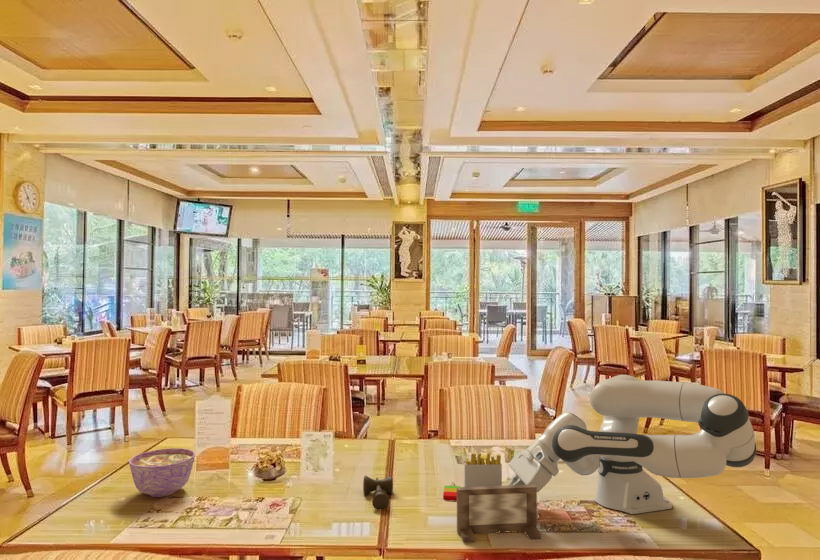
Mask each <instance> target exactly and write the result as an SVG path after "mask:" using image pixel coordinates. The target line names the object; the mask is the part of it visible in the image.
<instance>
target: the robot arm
mask: <svg viewBox="0 0 820 560" xmlns="http://www.w3.org/2000/svg"><path fill="white" fill-rule="evenodd" d="M589 401H590V405H591V407H592V409H593V410H594V411H595V412H596V413H597V414H599V415H602V416H603V417H602V422H601V424H600V427H599V429H598V430H599V431H594V430H589V429H587V425H586V423H585V421H584V420H583V419H581V418H580V417H578V416H577V415H575V414H574V413H572V412H566V411H565V412H562V413H561V414H560V415H558V416H556V418H555V419H554V420H552V421H551V423H550V424H549V425H547V427H546V428H545V430H544V432H543V433H542V434H541V435H539V436H538V437H537V438H536V439H535V440H534V441H533V442H532V443H531V444H530V445H529V446H528V447H527V448H526V449H522V450H521V451H519V452H518V453H516V454H515V456H514V457H513V458H512V459H511V460H510V461H509V463H508V466H509V468H510V469H511V470H512V471H513V472H514V475H513V476H512V477H511V480H510V482H509V483H508V484H507V486H508V485H535V486H536V487H537V493H539V492H540V491H541V490H542V489H543V488H544V487H546V486H547V485H548V483H549V482H550V481H551V479H552V477H556V476H557V475H558V474H559V472H560V471H559V465H558V462H559V461H560V460H561V461H563V462H564V463H565V464H566V465H567V467H568V468H570V470H572V471H573V472H574V473H575V474H578V475H580V476H589V475H592V474H594V473H595V472H596V471H598V477H597V478H598V480H597V487H596V490H595V493H594V497H593V499H594V501H595V503H597V504H599V505H600V506H602V507H605V508H608V509H612V510H614V511H615V510H616V511H621V512H623V513H627V514H631V515H636V514H637V515H638V514H644V513H651V512H657V511H658V512H659V511H665V510H671V509H672V508H673V505H672V502H671V501H670V499H669V498H668V497H666V496H664V491H663V487H662V485H661V484H660V482H659V481H658V480H657V479H655V477H653V476H652V475H650V474H649V473H648V472H650V473H651V474H653V475H655V476H659V477H664V478H669V479H671V478H672V479H699V478H700V479H701V478H709V477H713V476H718V475H721V474H722V473H723V472H724V471H725V470H726V467H727V466H728V467H731V468H744V467H746V466H749V465H750V463H752V462H753V461H754V459H755V457H756V454H757V453H756V452H757V444H756V437H755V431H754V427H753V425H752V423H751V419H750V415H749V411H748V409H747V407H746V405H745V404H744V402H743V401H742V400H741V398H739V397H737V396H735V395H733V394H729V393H725V392H723V391H722V390H721V389H719V388H716V387H712V386H707V385H702V384H697V383H691V382H690V383H689V382H682V381H668V380H660V379H659V380H656V379H655V380H640V379H638V378H637V377H635V376H633V375H630V374H618V375H614V376H612V377H609V378H607V379H603V380H600V382H598V383H597V384H595V386H594V387H593V388H592V390H591V391H590V395H589ZM640 418H653V419H654V418H655V419H656V418H657V419H662V420H663V419H664V420H670V421H671V420H673V421H680V422H687V423H688V422H689V423H696V424H697V425H698V426H699V428H700V430H699V431H698V432H696V433H693V434H641V433H640V434H639V433H638V430H639V429H638V428H639V423H640ZM644 469H645V470H647V471H648V472H646V471H645V470H644Z"/></svg>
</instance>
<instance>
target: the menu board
mask: <svg viewBox="0 0 820 560" xmlns="http://www.w3.org/2000/svg"><path fill="white" fill-rule="evenodd" d="M537 494H538V492H537V487H536V486H535V485H508V484H507V485H502V486H482V487H464V486H463V487H462V486H460V487H457V501H456V533H457V535H460V537H461V540H462V542H463V543H462V544H469V543H470V544H471V543H472V544H473V543H476V537H475V534H479V535H480V534H490V533H489V532H499V531H500V532H501V533H505V532H504V531H522V532H524V531H525V532H526V533H525V532H524V533H525V534H526V536H527V535H528V536H527V537H528V538H529V540H531V541H532V540H533V541H535V540H542V533H541V532H540V530H539V528H538V521H537V520H538V514H537V513H538V512H537V510H538V508H537V506H538V505H537V503H538V502H537V499H538V498H537V497H538V496H537Z"/></svg>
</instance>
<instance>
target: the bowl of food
mask: <svg viewBox="0 0 820 560" xmlns="http://www.w3.org/2000/svg"><path fill="white" fill-rule="evenodd" d="M195 456H196V452H195V451H194V450H191V449H189V448H182V447H181V448H178V447H172V448H159V449H153V450H150V451H145V452H141V453H139V454H136V455H134V456H132V457H130V459H129V460H128V463H129V468H130V469H129V470H130V473H131V476H132V481H133V483H134V485H135V488H136V489H137V490H138V492H140V493H143V494H145V495H147V496H150V497H153V498H159V497H160V498H162V497H167V496H170V495H172V494H174V493H176V491H178V490H180V489H182V488H183V487H184V486H185V485H187V483H188V481H189V480H190V477H191V472H192V469H193V465H194V461H195V458H196V457H195Z"/></svg>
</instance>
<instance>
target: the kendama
mask: <svg viewBox="0 0 820 560" xmlns="http://www.w3.org/2000/svg"><path fill="white" fill-rule="evenodd" d="M362 488H363V489H362V490H363V495H364V496H367V495H369V494H370V493H372V499H371V502H372V506H373V508H374V509H375V510H378V511H379V510H380V509H382V510H386V509H387V508H388V507H389V505H390V498H389V496H388V495H392V494H393V492H394V491H393V489H394V481H393V476H391V475H389V476H387V477H385V478H382V479H379V477H376V478H375V479H373V478H371V477H370V476H367V475H364V476H363V485H362ZM385 508H386V509H385Z"/></svg>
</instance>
